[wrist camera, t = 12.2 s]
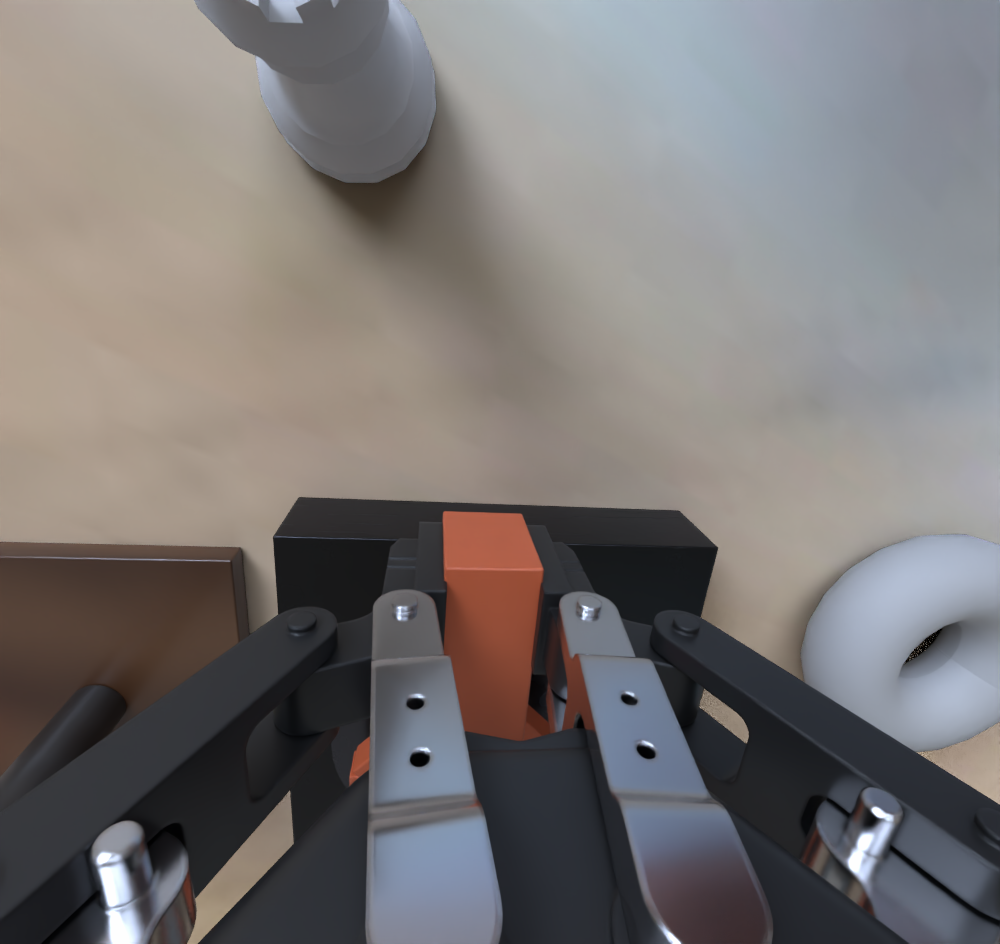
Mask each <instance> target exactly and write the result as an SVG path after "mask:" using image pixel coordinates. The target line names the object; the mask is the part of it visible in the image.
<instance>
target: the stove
mask: <svg viewBox="0 0 1000 944" xmlns="http://www.w3.org/2000/svg"><path fill="white" fill-rule="evenodd" d="M445 511H452V512H485V513H517V514H522V516H523V518H524V521H525V523H526V525H544V526H546V528H547V531H548V533H549V535H550V538H551V540H552V542H563V543H564V544H565V545H567V546H568V547H569V548H570V549H572V550H573V551H574V552H575V554H576V556H577V558H578V560H579V563H580V564H581V566H582V568H583V572H585V574H586V576H587V578H588V580H589V582H590V584H591V586H592V588H593V590H594V592H595V594H598V595H601V596H603V597H605V598H607V599H608V600H610V601H611V602H612V603H613V604H614V605H615V606H616V608H617V609H618V612H619V615H620V617H621V618H622V619H625V620H628V621H632V622H637V623H641V624H646V625H651V626H653V623H654V618H655V616H656V615H657V614H658V613H660V612H662V611H666V610H679V611H685V612H688V613H691V614H694V615H696V616H699V617H701V613H702V609H703V605H704V601H705V597H706V593H707V590H708V586H709V582H710V578H711V574H712V570H713V566H714V562H715V558H716V554H717V550H718V547H717V546H716V545H715V544H714V543H713V542H711V541H710V540H709V539H708V538H707V537H706V536H705V535H704V534H703V533H702V532H701V531H700V530H699V529H698V528H697V527H696V526H695V525H694V524H693V523H692V522H690V521H689V520H688V519H687V518H686V517H685V516H684V515H683V514H682V513H681V512H680V511H674V510H646V509H617V508H589V507H561V506H532V505H504V504H475V503H447V502H418V501H390V500H362V499H333V498H305V497H299V498H298V499H297V501H296V502H295V504H294V505H293V507H292V508H291V510H290V512H289V513H288V515H287V516H286V518H285V519H284V521H283V522H282V524H281V525H280V527H279V529H278V530H277V532H276V533H275V535H274V536H273V542H274V557H275V572H276V587H277V602H278V615H279V614H281V613H283V612H285V611H287V610H290V609H294V608H299V607H320V608H323V609H326V610H328V611H330V612H331V613H333V614H334V615H335V617H336V619H337V623H341V622H346V621H351V620H355V619H358V618H361V617H363V616H366V615H368V614H369V613H371V612H372V611H373V605H374V603H375V601H376V600H377V599H378V598H379V597H380V596H382V592H383V586H384V580H385V575H386V569H387V563H388V558H389V552H390V547H391V546H392V545H393V544H394V543H395V542H396V541H397V540H398V539H399V538H408V539H418V534H419V522H442V521H443V512H445ZM346 789H347V788H346V787H345V785H344V784H343V782H342V781H341V779H340V777H339V775H338V773H337V771H336V768H335V764H334V761H333V757H332V748H331V744H330V745H329V746H328V747H327V748H326V749H325V750H324V752H323V753H322V754H321V755H320V756H319V757H318V758H317V760H316V761H315V762H314V763H313V764H312V765H311V766H310V768H309V769H308V770H307V771H306V772H305V773H304V775H303V776H302V777H301V778H300V779H299V780H298V781H297V783H296V784H295V785H294V786H293V787H292V788H291V789H290V793H291V808H292V823H293V838H294V843H295V842H296V841H297V840H298V839H299V838H300V837H301V836H302V835H303V834H304V833H305V832H306V831H307V830H308V829H309V828H310V827H311V826H312V825H313V824H314V823H315V822H316V820H317V819H318V818H319V817H320V816H321V815H322V814H323V813H324V812H325V811H326V810H327V809H328V808H329V807H330V806H331V805H332V804H333V803H334V802H335V801H336V800H337V799H338V798H339V797H340V796H341V795H342V793H343V792H344V791H345V790H346Z"/></svg>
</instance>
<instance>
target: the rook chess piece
mask: <svg viewBox="0 0 1000 944" xmlns="http://www.w3.org/2000/svg"><path fill="white" fill-rule="evenodd" d="M194 1H195V3H196V5H197V7H198V9H199V10H200V11H201V12H202V13H203V14H204V15H205V16H206V17H207V18H208V19H209V20H210V21H211V22H212V23H213V24H214V25H215V26H216V27H217V28H218V29H219V30H220V31H221V32H222V33H223V34H224V35H225V36H226V37H227V38H228V39H229V40H230V41H231V42H232V43H233V44H234V45H235V46H236V47H238V48H240V49H242V50H244V51H247V52H249V53H251V54H253V55H255V57H256V64H257V71H258V78H259V85H260V91H261V96H262V98H263V100H264V102H265V104H266V106H267V108H268V110H269V112H270V114H271V116H272V118H273V120H274V122H275V124H276V126H277V128H278V130H279V132H280V133H281V134H282V135H283V136H284V138H285V140H286V142H287V143H288V144H289V145H290V146H291V147H292V148H293V149H294V150H295V151H296V152H297V153H298V154H299V155H300V156H301V157H302V158H303V159H304V160H305V161H306V162H307V163H308V164H309V165H310V166H311V167H312V168H313V169H315V170H317V171H320V172H322V173H324V174H327V175H329V176H331V177H333V178H336V179H338V180H340V181H342V182H345V183H377V182H379V181H382V180H384V179H386V178H388V177H390V176H392V175H394V174H396V173H398V172H401V171H403V170H405V169H406V167H407V166H408V165H409V164H410V163H411V161H412V160H413V159H414V158H415V157H416V155H417V154H418V153H419V152H420V151H421V149H422V148H423V147H424V146H425V144H426V142H427V138H428V135H429V132H430V129H431V125H432V122H433V119H434V116H435V112H436V96H435V74H434V69H433V67H432V62H431V57H430V54H429V51H428V49H427V46H426V44H425V41H424V39H423V36H422V33H421V31H420V28H419V26H418V23H417V21H416V19H415V18H414V17H413V15H412V14H411V13H410V12H409V11H408V9H407V8H406V7H405V6H404V5H403V4H402V2H401V1H400V0H194Z"/></svg>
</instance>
